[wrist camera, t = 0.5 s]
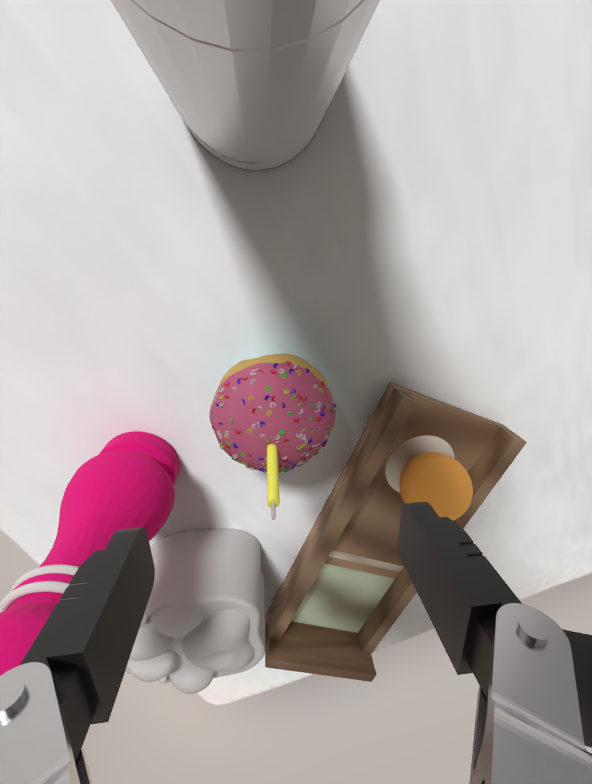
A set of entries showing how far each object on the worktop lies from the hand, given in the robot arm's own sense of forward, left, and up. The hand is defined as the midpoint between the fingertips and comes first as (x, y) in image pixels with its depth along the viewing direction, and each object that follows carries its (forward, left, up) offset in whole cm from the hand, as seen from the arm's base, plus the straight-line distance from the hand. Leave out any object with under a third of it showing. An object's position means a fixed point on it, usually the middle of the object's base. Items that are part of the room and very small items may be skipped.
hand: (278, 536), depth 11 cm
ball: (+4, +16, -13) cm, 21 cm away
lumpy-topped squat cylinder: (+23, +1, -18) cm, 29 cm away
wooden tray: (+13, +16, -17) cm, 27 cm away
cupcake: (+2, +1, -18) cm, 18 cm away
